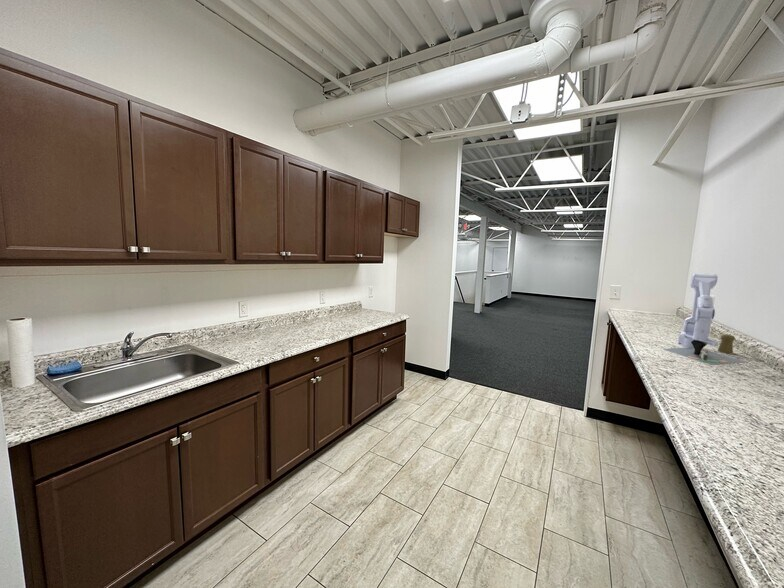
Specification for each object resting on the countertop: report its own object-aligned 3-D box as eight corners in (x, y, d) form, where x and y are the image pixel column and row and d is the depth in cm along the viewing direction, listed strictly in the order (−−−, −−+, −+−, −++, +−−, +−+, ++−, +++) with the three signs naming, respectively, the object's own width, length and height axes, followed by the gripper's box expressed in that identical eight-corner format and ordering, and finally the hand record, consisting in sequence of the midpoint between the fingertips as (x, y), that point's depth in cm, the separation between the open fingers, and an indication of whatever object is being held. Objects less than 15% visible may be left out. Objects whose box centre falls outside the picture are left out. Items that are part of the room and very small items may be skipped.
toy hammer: (692, 351, 169) (693, 345, 168) (706, 353, 166) (707, 347, 165) (697, 358, 158) (698, 352, 157) (712, 361, 155) (714, 354, 154)
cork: (736, 356, 167) (739, 336, 165) (722, 355, 168) (726, 335, 166) (726, 352, 173) (730, 333, 171) (713, 351, 174) (717, 332, 172)
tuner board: (661, 350, 174) (661, 348, 174) (694, 349, 178) (694, 346, 178) (711, 367, 151) (711, 364, 150) (747, 364, 154) (748, 362, 154)
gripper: (680, 326, 166) (676, 350, 169) (712, 334, 152) (707, 360, 154) (691, 326, 167) (686, 349, 170) (723, 333, 153) (718, 359, 156)
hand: (697, 354), depth 162 cm, fingers closed, pressing on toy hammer
